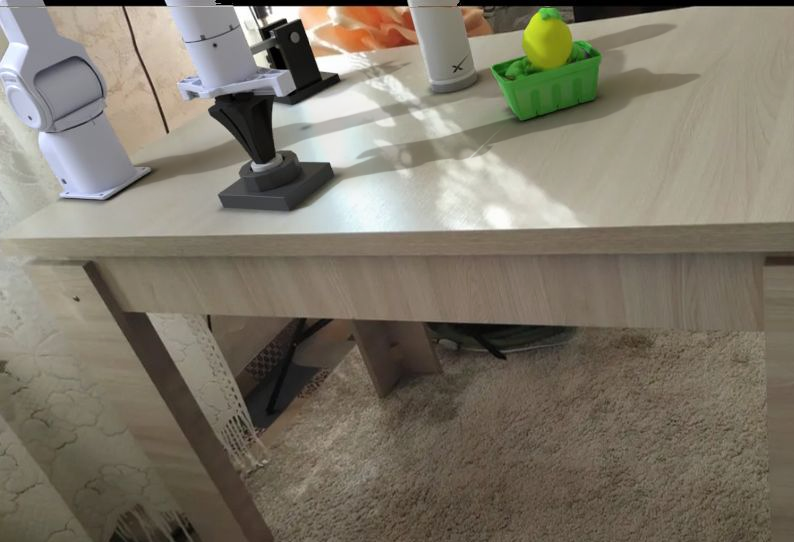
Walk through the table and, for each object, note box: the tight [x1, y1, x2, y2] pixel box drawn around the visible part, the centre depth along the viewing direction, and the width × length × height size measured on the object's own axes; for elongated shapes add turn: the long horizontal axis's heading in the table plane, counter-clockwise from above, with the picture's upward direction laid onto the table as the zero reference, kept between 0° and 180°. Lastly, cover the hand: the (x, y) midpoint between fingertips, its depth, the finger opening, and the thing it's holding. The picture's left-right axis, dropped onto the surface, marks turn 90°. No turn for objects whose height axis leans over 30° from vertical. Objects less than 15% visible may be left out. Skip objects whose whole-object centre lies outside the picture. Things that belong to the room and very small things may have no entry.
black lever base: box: [257, 17, 342, 106], centre depth 112 cm, size 9×7×10 cm
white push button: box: [251, 153, 283, 172], centre depth 84 cm, size 3×3×2 cm
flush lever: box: [249, 30, 279, 56], centre depth 109 cm, size 11×3×3 cm, turn 136°
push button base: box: [217, 149, 335, 212], centre depth 85 cm, size 10×8×4 cm
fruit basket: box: [490, 6, 603, 121], centre depth 85 cm, size 11×9×11 cm
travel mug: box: [407, 0, 478, 94], centre depth 96 cm, size 6×7×20 cm
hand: (266, 160), depth 83 cm, fingers closed, pressing on white push button
